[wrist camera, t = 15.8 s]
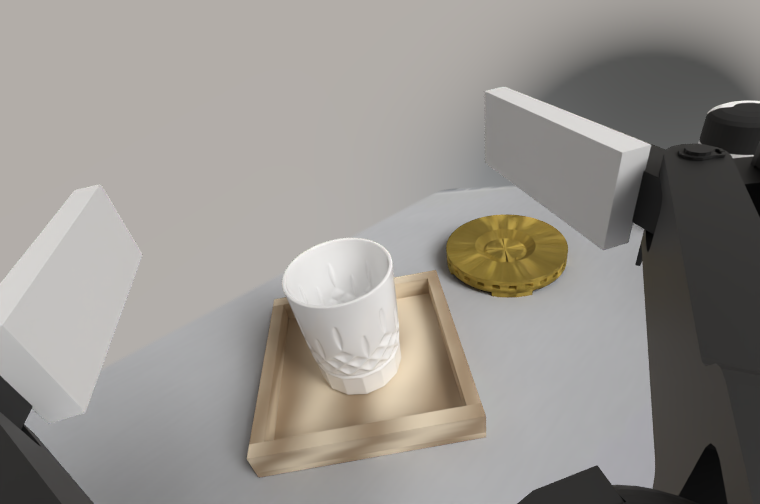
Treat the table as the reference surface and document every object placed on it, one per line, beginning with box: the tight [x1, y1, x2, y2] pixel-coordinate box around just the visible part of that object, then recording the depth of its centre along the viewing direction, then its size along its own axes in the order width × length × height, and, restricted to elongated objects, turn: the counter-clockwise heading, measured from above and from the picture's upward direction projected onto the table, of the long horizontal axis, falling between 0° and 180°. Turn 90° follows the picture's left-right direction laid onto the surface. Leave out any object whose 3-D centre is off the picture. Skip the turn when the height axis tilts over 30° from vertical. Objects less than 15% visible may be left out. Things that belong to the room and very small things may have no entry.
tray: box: [247, 270, 486, 478], centre depth 35 cm, size 16×16×2 cm
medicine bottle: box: [698, 101, 760, 158], centre depth 41 cm, size 7×7×12 cm
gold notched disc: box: [446, 215, 568, 297], centre depth 44 cm, size 12×12×2 cm
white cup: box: [282, 238, 401, 395], centre depth 32 cm, size 8×8×10 cm
